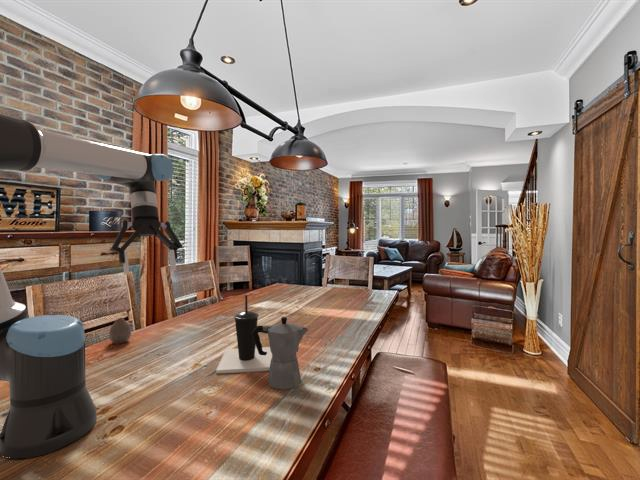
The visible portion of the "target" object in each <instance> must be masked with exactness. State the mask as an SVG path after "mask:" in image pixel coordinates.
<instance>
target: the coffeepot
mask: <svg viewBox="0 0 640 480" xmlns="http://www.w3.org/2000/svg"><path fill="white" fill-rule="evenodd" d="M280 320H281V323H274V324H272V325H257V327H256V328H255V329H254V330H253V332H252V336H253V339H254V341H255V344H256V345H255V348H257V350H258V353H259V355H266V354H267V352H264V351H263V350H262V347H263V345H262V343H261V339H260V338H261V337H260V335H259V333H262V334H267V337H268V341H269V342H268V343H269V347H270V350H271V353H272V359H271V363H270V369H269V371H268V377H267V383H268V385H269V387H271V389H275V390H279V391H285V390H292V389H294V388H297V386H299V384H301V383H300V382H302V377H301V372H300V365H299V360H298V357H297V353H298V352H299V347H300V342H301V340H302V339H303V337H304V336H305V334H306V333H307V332H309V329H308V327H305V326H300V325H299V324H297V323H291V322H287V320H288V317H286V316H283V317H280Z"/></svg>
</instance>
